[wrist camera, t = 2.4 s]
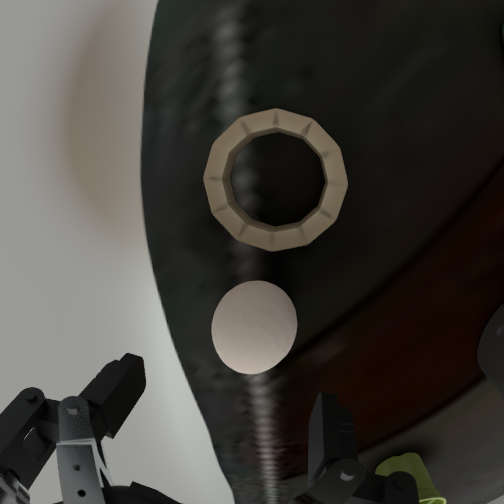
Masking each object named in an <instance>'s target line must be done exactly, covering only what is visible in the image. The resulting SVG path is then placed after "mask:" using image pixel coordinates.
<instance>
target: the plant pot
mask: <svg viewBox="0 0 504 504" xmlns="http://www.w3.org/2000/svg"><path fill="white" fill-rule="evenodd" d="M396 471H404V472H407V473H409V474H411V475H412V476H413V477H414V478H415V480H416V483H417V489H418V496H419V503H420V504H446V499H445V498H444V497H443V496H441V495H440V493H439V491H437V490H436V489H435V487H434V485H433V483H432V480H431V478H430V476H429V474H428V472H427V470H426V468H425V466H424V463H423V461H422V459H421V457H420V456H419V455H418V454H416V453H405V454H403V455H401V456H393V457H391V458H389V459H387V460H385V461H384V462H382V463H381V464H380V465H379V466H378V467H377V468H376V472H375V474H378V475H383V476H388V475H390V474H391V473H393V472H396Z"/></svg>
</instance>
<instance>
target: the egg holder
mask: <svg viewBox="0 0 504 504" xmlns="http://www.w3.org/2000/svg"><path fill="white" fill-rule="evenodd" d="M312 120H313V119H311V118H308V117H305V116H302V115H298V114H295V113H292V112H288V111H285V110H281V109H277V110H276V108H275V109H271V110H267V111H262V112H258V113H254V114H250V115H247V116H243V117H240V118H238V119H237V120H236V121H235V122H234V123H233V124H232V125H231V126H230V127H229V128H228V129H227V130H226V131H225V132H224V133H223V134H222V135H221V136H220V137H219V138H218V139H217V140H216V141H215V142H214V144H213V145H212V148H211V152H210V155H209V159H208V162H207V166H206V169H205V173H204V177H203V178H205V179H203V180H204V184H205V188H206V192H207V196H208V200H209V204H210V208H211V212H212V213H213V212H214V213H213V215H214V216H215V217H216V219H217V220H218V221H219V222H220V223H221V224H222V225H223V226H224V227H225V228H226V229H227V230H228V231H229V233H230V234H231V235H232V236H233V237H234V238H235V239H238V241H241V242H244V243H247V244H250V245H253V246H256V247H259V248H262V249H265V250H268V251H271V250H272V252H273V251H278V250H283V249H288V248H294V247H299V246H304V245H307V243H308V244H309V243H311V242H312V241H313V240H314V239H315V238H316V237H318V236H319V235H320V234H321V233H322V232H323V231H325V230H326V229H327V228H328V227H329V226H330V225H331V224H333V223H334V222H335V220H336V219H337V216H338V214H339V211H340V208H341V205H342V202H343V199H344V196H345V193H346V190H347V187H348V185H346V184H348V182H347V177H346V172H345V168H344V163H343V159H342V154H341V150H340V148H339V146H338V145H337V144H336V143H335V141H334V140H333V139H332V138H331V137H330V136H329V135H328V134H327V133H326V132H325V131H324V130H323V129H322V128H321V126H320V125H319V124H318V123H317V122H316V121H315V120H313V121H312ZM276 132H281V133H284V134H288V135H291V136H294V137H297V138H301V139H303V140H304V141H305V142H306V143H307V144H308V145H309V146H310V147H311V148H312V150H313V151H314V152H315V153H316V154H317V155H318V156H319V157H320V160H321V164H322V169H323V173H324V178H325V185H324V188H323V191H322V194H321V198H320V201H319V204H318V206H317V207H316V208H315V209H313V210H312V211H311V212H310V213H309V214H308V215H307V216H305V217H304V218H303V219H302V220H301V221H300V222H296V223H291V224H286V225H281V226H276V227H274V226H271V225H268V224H265V223H262V222H259V221H256V220H253V219H251V218H250V217H249V216H248V214H247V213H246V212H245V211H244V210H243V209H242V208H241V207H240V206H239V205H238V204H237V203H236V202H235V198H234V194H233V190H232V186H231V182H230V174H231V171H232V167H233V164H234V161H235V157H236V154H237V153H238V152H239V151H240V150H241V149H243V148H244V147H245V146H246V145H247V144H248V143H249V142H250V141H251V140H252V139H253V138H254V137H259V136H263V135H267V134H271V133H276ZM334 219H335V220H334Z"/></svg>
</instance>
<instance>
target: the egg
mask: <svg viewBox="0 0 504 504" xmlns="http://www.w3.org/2000/svg"><path fill="white" fill-rule="evenodd" d="M296 330H297V318H296V310H295V308H294V306H293V303H292V301H291V299H290V298H289V297H288V295H287V294H286V293H285V292H284V291H283V290H282V289H281V288H279V287H278V286H276V285H274V284H271V283H269V282H265V281H248V282H245V283H242V284H239V285H237V286H236V287H234V288H233V289H231V290H230V291H228V292H227V293H226V295H225V296H224V297H223V298H222V299H221V301H220V303H219V304H218V306H217V309H216V311H215V313H214V317H213V321H212V338H213V342H214V346H215V348H216V351H217V353H218V355H219V356H220V358H221V359H222V361H223V362H224V363H225V364H226V365H227V366H229V367H230V368H232V369H233V370H235V371H237V372H240V373H245V374H258V373H261V372H264V371H266V370H268V369H270V368H272V367H274V366H275V365H276V364H278V363H279V362H280V361H281V360H282V359H283V358H284V357H285V356H286V355H287V353H288V352H289V350H290V349H291V347H292V344H293V342H294V340H295V335H296Z"/></svg>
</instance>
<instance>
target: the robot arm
mask: <svg viewBox="0 0 504 504" xmlns="http://www.w3.org/2000/svg"><path fill="white" fill-rule="evenodd" d="M477 359H478V364H479V366H480V368H481V369H482V370H483V372H484V373H485V375H486V376H487V377H488V379H489V380H490V382H491V383H492V384H493V386H494V387H495V389H496V391H497V392H498V394H499V395H500V397H501V398H502V400H503V401H504V303H503V304H502V305H501V306H500V307H499V308H498V310H497V311H496V312H495V313H494V314H493V316H492V317H491V319H490V320H489V322H488V323H487V325H486V327H485V329H484V331H483V333H482V336H481V338H480V341H479V345H478V351H477ZM145 387H146V378H145V369H144V360H143V358H142V357H140V356H137V355H134V354H130V353H126V354H125V355H124V356H123V357H122V358H121V359H120V361H118V360H114V361H112V362H110V363H108V364H106V365H105V367H104V368H103V369H102V370H101V372H100V373H98V374H97V376H96V378H94V379H93V380H92V381H91V382H90V383H89V384H88V386H87V387H86V388H85V389H84V390H83V391H82V392H81V393H80V395H79V396H69V397H67V398H64V399H63V400H62V401H57V400H51V399H47V398H45V396H44V393H43V392H42V391H41V390H40V389H38V388H35V387H30V388H26V389H24V390H23V391H21V392H20V393H19V394H18V396H17V397H16V398H15V399H14V400H13V401H12V402H11V403H10V404H9V405H8V406H7V407H6V409H5V410H4V411H3V412H2V413H1V414H0V504H30V502H29V501H30V495H29V492H28V490H29V488H30V487H31V485H32V483H33V482H34V480H35V479H36V477H37V476H38V474H39V473H40V471H41V470H42V468H43V466H44V465H45V464H46V462H47V461H48V459H49V458H50V456H51V455H52V453H53V452H54V450H55V449H56V451H57V462H58V471H59V479H60V485H61V492H62V497H63V501H61V502H58V503H54V504H181V503H179V502H177V501H175V500H173V499H171V498H170V497H168V496H166V495H164V494H163V493H161V492H159V491H158V490H155V489H152V488H150V487H147V486H144V485H141V484H139V483H136V482H133V481H132V483H131V485H130V486H114V484H113V481H112V479H111V476H110V473H109V469H108V465H107V461H106V457H105V453H104V448H103V443H102V439H103V437H104V436H107V437H110V438H112V439H113V438H114V437H115V435H116V433H117V432H118V430H119V429H120V427H121V426H122V424H123V423H124V421H125V420H126V418H127V417H128V415H129V414H130V412H131V411H132V409H133V408H134V406H135V405H136V403H137V401H138V400H139V398H140V397H141V395H142V394H143V392H144V390H145ZM32 428H33V429H32ZM31 429H32V430H31ZM30 430H31V432H30ZM29 432H30V433H29ZM28 433H29V434H28ZM27 434H28V436H27V437H26V435H27ZM25 437H26V438H25ZM24 438H25V439H24ZM23 440H24V441H23ZM308 485H310V486H311V487H310V488H309V489H308V490H307V491H306V492H305V493H304V494H302V495H299V496H298V497H296V498H295V499H294V500H293V501H292V502H290V503H289V504H420V503H419V496H418V489H417V483H416V480H415V478H414V477H413V476H412V475H411V474H409V473H407V472H404V471H396V472H393V473H391V474H390V475H388V476H383V475H378V474H374V473H371V472H369V471H367V470H365V468H364V466H363V465H362V464H361V463H360V462H359V460H358V454H357V447H356V439H355V433H354V425H353V419H352V414H351V412H350V411H349V410H348V408H347V407H346V406H339V405H338V400H337V395H336V394H331V393H319V395H318V397H317V400H316V403H315V406H314V408H313V411H312V414H311V417H310V422H309V456H308Z"/></svg>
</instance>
